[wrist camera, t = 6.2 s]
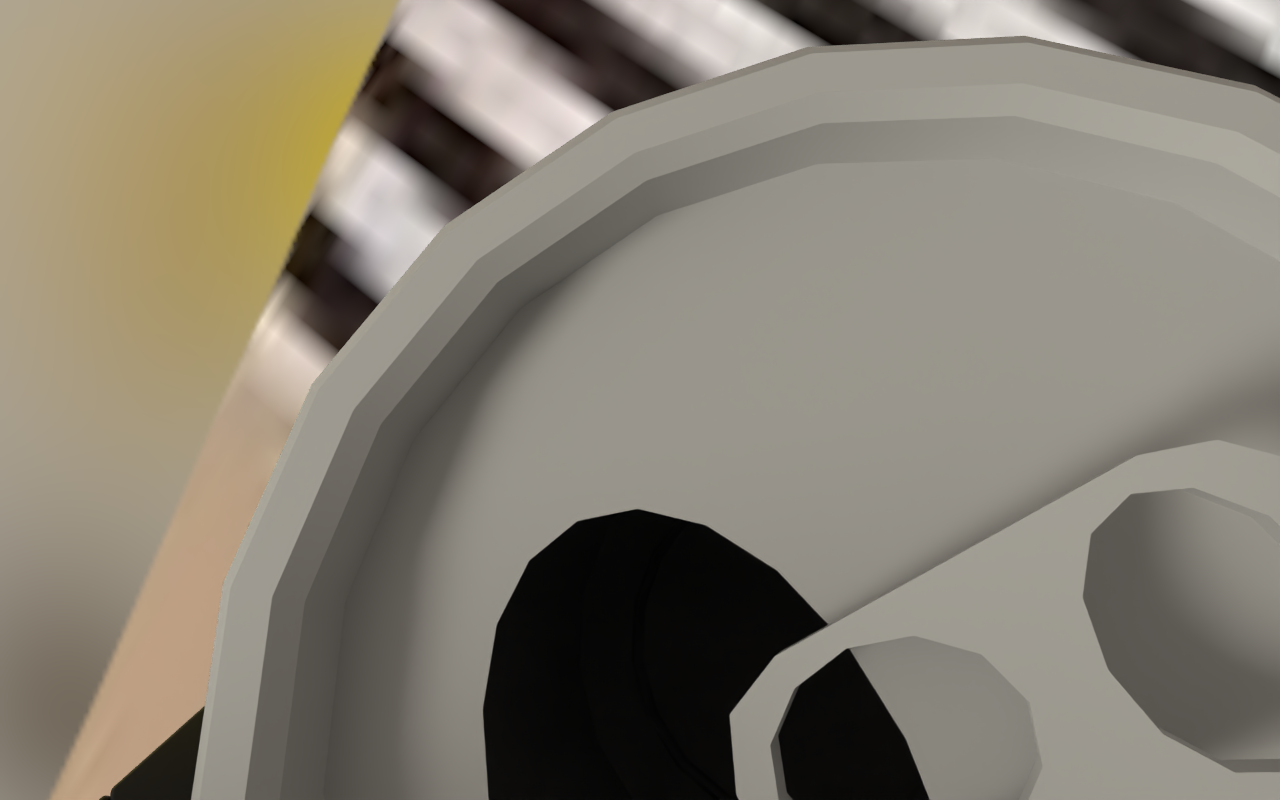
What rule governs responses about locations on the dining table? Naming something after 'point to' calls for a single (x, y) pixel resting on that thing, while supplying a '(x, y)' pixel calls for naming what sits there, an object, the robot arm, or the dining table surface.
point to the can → (799, 459)
